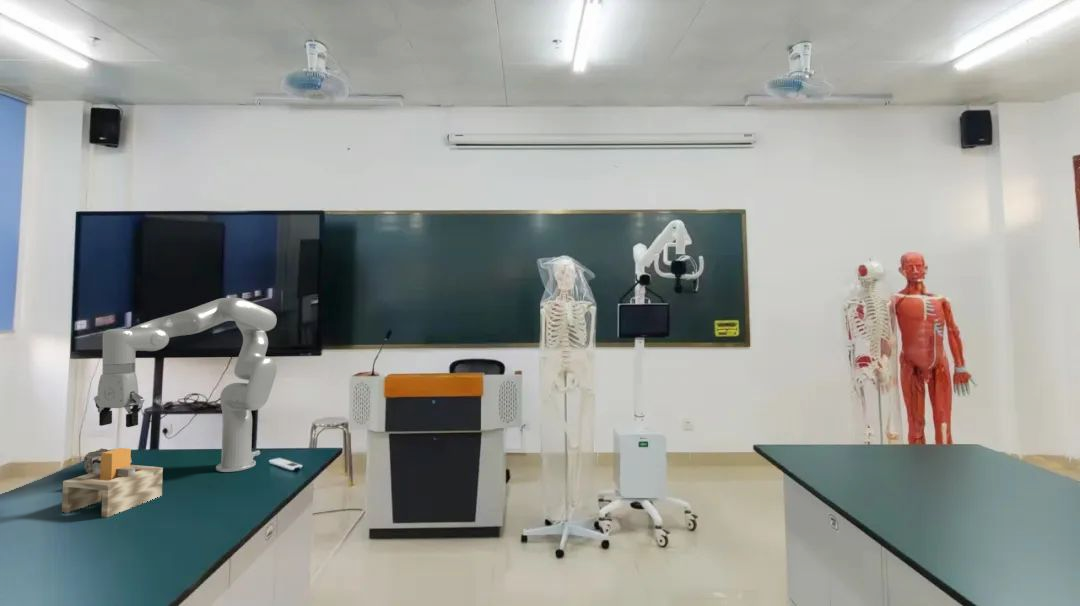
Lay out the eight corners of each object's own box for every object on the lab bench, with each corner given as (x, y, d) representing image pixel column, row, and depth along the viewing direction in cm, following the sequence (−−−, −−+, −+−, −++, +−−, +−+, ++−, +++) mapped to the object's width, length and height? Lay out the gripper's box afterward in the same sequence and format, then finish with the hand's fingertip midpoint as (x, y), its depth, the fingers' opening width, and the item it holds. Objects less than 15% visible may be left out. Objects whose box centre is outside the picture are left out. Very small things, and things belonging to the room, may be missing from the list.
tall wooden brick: (119, 480, 145) (120, 447, 146) (129, 481, 145) (130, 448, 145) (99, 486, 140) (101, 452, 140) (110, 487, 139) (112, 453, 140)
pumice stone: (75, 473, 168) (76, 451, 168) (117, 464, 178) (118, 443, 179) (88, 481, 161) (89, 457, 161) (132, 471, 171) (133, 449, 171)
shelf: (120, 492, 151) (121, 457, 152) (161, 496, 149) (163, 461, 149) (61, 512, 136) (63, 474, 136) (107, 517, 133) (108, 478, 133)
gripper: (82, 370, 141) (81, 427, 141) (129, 371, 138) (129, 430, 138) (109, 367, 149) (108, 421, 148) (155, 368, 145) (154, 423, 145)
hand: (118, 425), depth 143 cm, fingers open, 9 cm apart
